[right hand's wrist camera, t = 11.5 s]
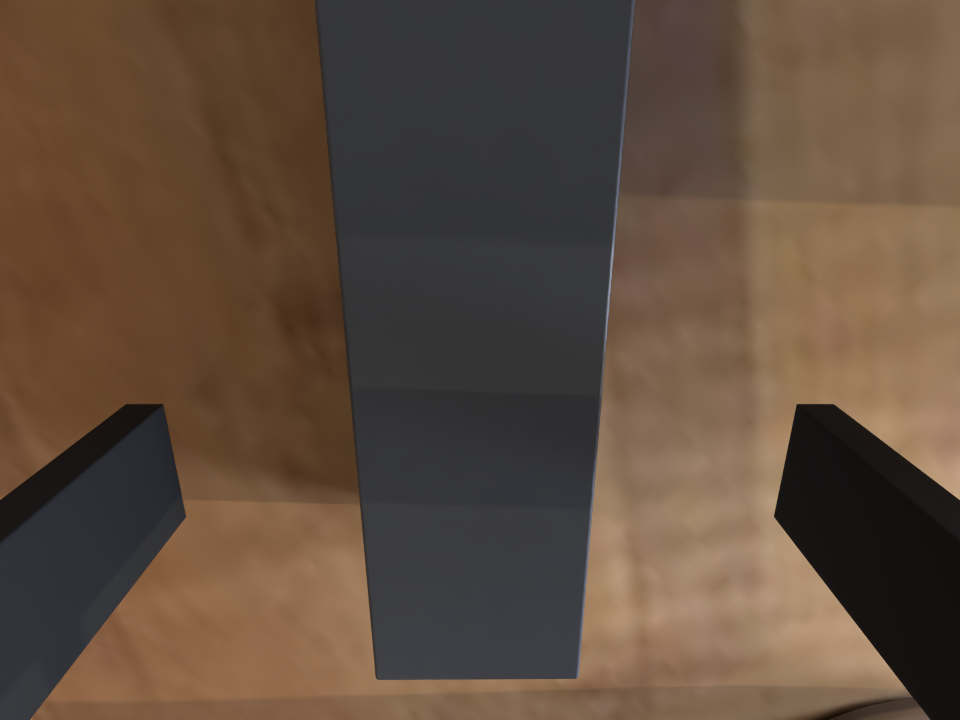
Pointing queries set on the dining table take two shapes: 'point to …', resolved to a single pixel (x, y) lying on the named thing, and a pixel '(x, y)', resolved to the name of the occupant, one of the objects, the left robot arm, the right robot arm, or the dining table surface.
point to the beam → (475, 314)
